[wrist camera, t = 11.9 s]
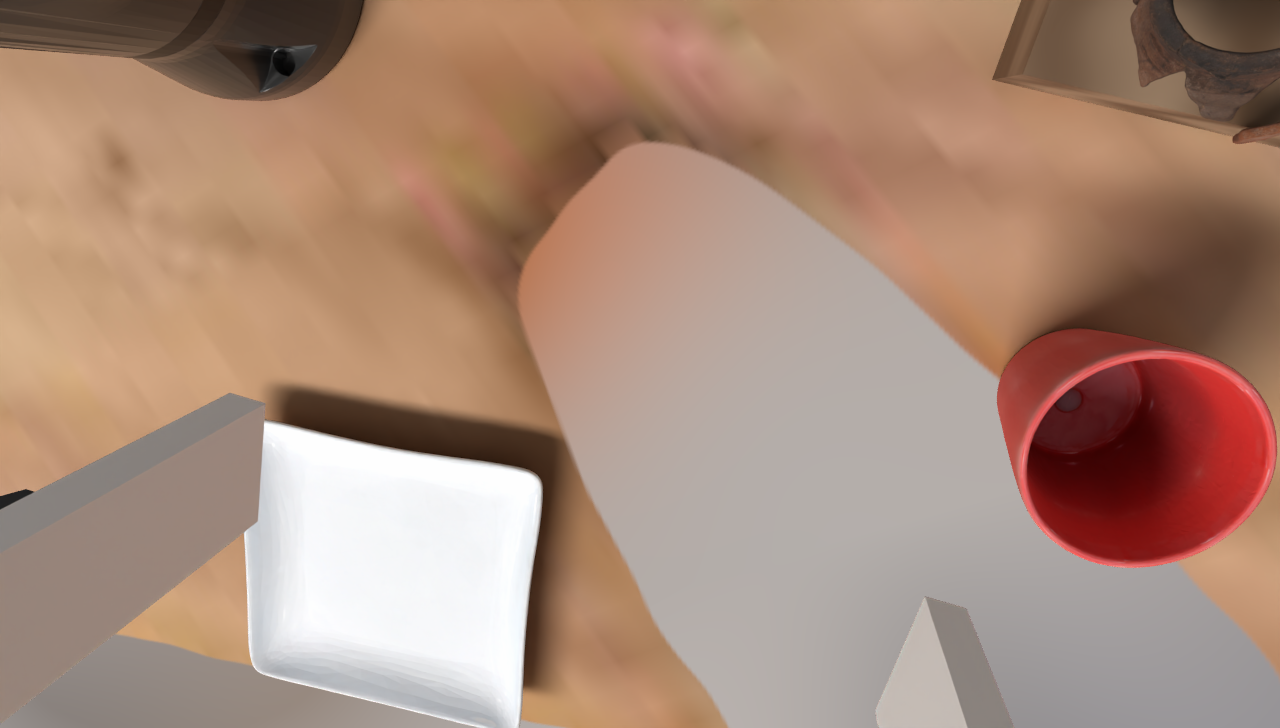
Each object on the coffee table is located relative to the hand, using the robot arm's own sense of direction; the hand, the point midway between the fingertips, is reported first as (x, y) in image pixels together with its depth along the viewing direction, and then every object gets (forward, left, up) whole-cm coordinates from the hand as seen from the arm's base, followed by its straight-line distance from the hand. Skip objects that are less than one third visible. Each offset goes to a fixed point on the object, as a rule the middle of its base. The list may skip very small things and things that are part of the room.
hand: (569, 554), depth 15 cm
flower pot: (+22, -2, -32) cm, 39 cm away
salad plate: (-16, -27, -32) cm, 45 cm away
